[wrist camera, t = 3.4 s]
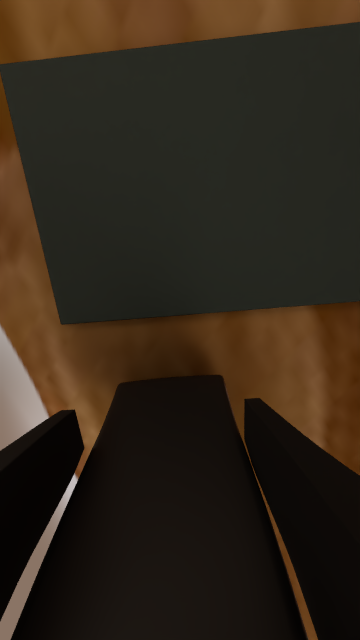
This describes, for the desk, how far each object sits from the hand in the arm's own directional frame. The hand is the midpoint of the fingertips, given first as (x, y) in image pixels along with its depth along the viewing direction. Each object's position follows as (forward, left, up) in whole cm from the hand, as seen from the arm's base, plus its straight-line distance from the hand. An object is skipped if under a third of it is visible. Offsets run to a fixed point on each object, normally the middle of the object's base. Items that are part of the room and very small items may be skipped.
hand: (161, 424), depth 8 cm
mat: (-4, -10, -4) cm, 11 cm away
